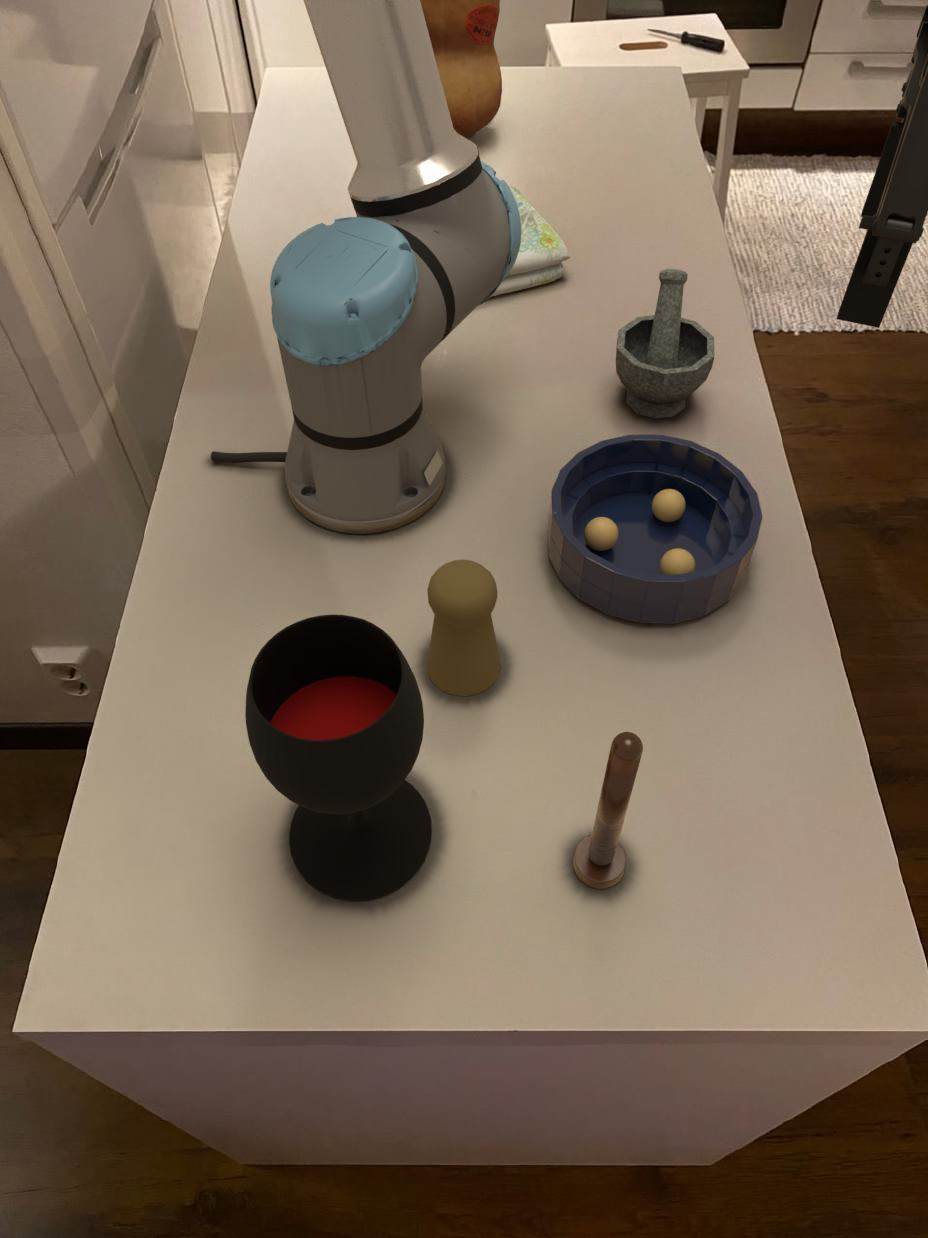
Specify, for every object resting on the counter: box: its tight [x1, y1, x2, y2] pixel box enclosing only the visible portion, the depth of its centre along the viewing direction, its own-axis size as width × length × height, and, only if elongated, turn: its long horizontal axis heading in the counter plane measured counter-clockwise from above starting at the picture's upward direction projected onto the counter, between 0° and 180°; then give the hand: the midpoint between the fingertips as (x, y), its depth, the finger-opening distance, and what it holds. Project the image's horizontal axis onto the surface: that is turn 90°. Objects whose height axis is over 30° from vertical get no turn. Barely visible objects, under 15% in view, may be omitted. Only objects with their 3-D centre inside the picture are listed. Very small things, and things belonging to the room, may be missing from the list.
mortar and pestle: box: [615, 268, 716, 419], centre depth 94 cm, size 11×9×12 cm
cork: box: [426, 559, 502, 697], centre depth 73 cm, size 6×6×11 cm
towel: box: [490, 185, 571, 298], centre depth 113 cm, size 18×21×5 cm
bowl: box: [547, 434, 763, 625], centre depth 83 cm, size 18×18×6 cm
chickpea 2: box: [652, 489, 686, 522], centre depth 86 cm, size 3×3×3 cm
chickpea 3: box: [660, 548, 696, 575], centre depth 81 cm, size 3×3×3 cm
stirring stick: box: [572, 731, 644, 890], centre depth 60 cm, size 4×4×17 cm
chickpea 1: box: [584, 517, 618, 551], centre depth 84 cm, size 3×3×3 cm
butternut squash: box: [420, 0, 503, 140], centre depth 125 cm, size 14×13×25 cm
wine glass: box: [244, 614, 433, 902], centre depth 61 cm, size 10×10×20 cm
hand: (869, 266), depth 66 cm, fingers open, 13 cm apart
